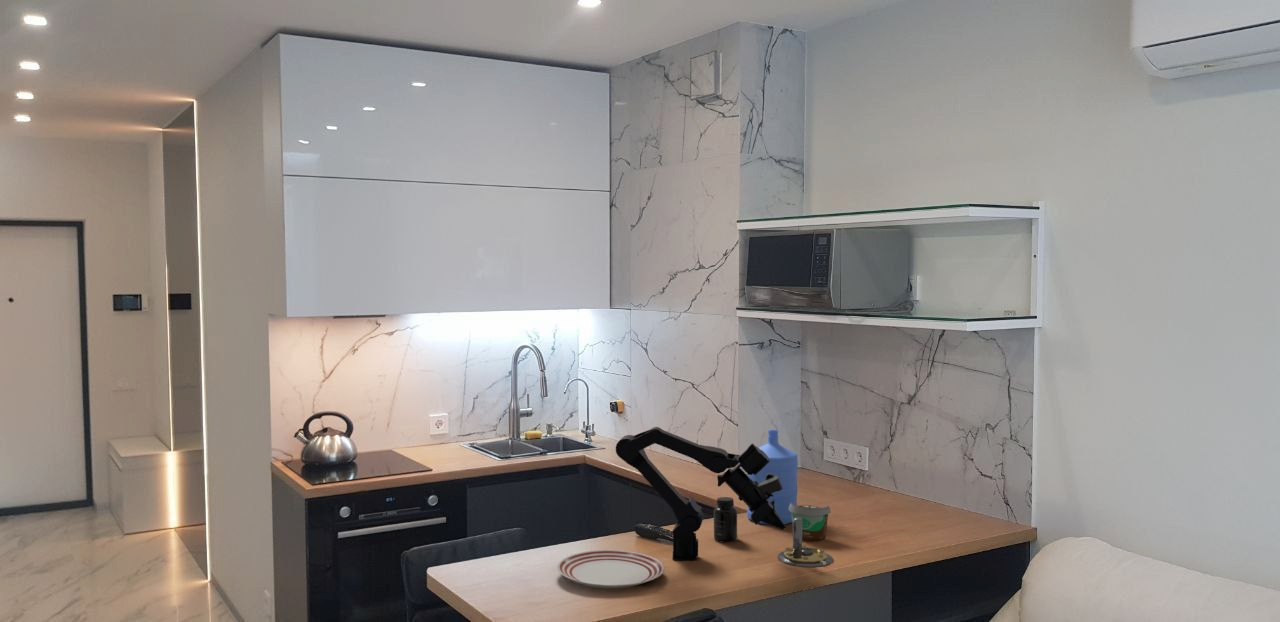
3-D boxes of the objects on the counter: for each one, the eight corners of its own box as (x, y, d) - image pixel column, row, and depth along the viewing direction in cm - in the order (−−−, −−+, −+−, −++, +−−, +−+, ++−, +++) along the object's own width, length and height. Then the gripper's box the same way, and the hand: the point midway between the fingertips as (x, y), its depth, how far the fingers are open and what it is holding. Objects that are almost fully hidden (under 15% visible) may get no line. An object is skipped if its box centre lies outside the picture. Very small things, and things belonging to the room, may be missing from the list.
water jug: (800, 526, 301) (801, 435, 300) (748, 525, 302) (749, 435, 301) (794, 513, 317) (795, 427, 316) (745, 512, 318) (746, 426, 316)
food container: (784, 540, 286) (784, 506, 285) (788, 534, 292) (789, 501, 291) (826, 544, 282) (827, 510, 281) (830, 539, 287) (830, 505, 287)
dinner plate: (685, 576, 253) (685, 564, 253) (612, 604, 233) (612, 590, 232) (608, 555, 271) (608, 543, 271) (534, 578, 251) (534, 565, 251)
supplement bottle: (722, 534, 291) (722, 494, 291) (741, 538, 287) (742, 498, 286) (708, 539, 286) (709, 499, 285) (728, 544, 282) (728, 502, 281)
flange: (780, 566, 261) (780, 558, 261) (774, 550, 276) (775, 541, 276) (837, 567, 260) (837, 559, 260) (828, 550, 275) (828, 542, 275)
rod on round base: (796, 548, 276) (797, 507, 276) (834, 555, 269) (834, 514, 269) (775, 557, 267) (776, 516, 267) (814, 566, 260) (815, 523, 259)
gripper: (764, 473, 255) (806, 517, 254) (765, 459, 274) (805, 500, 273) (733, 502, 257) (775, 545, 256) (737, 486, 275) (776, 526, 274)
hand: (784, 528), depth 265 cm, fingers closed
